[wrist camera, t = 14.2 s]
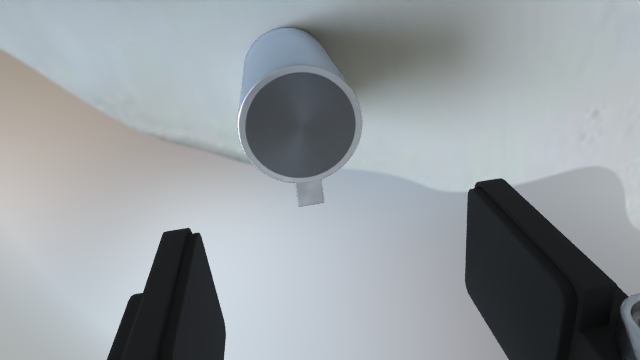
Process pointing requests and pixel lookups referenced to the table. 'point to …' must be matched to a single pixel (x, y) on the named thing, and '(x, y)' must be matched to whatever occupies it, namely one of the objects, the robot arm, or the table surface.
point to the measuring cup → (296, 112)
